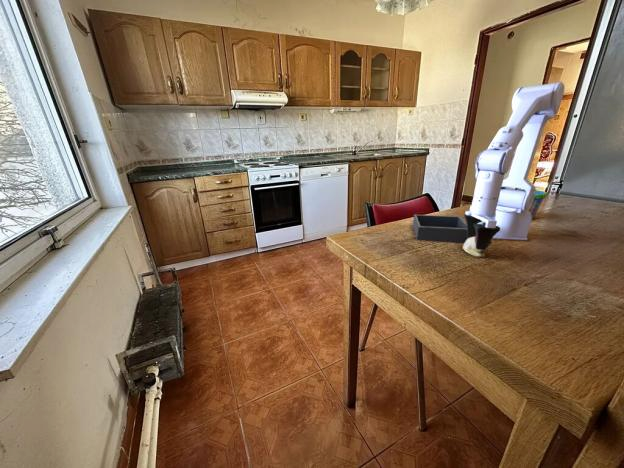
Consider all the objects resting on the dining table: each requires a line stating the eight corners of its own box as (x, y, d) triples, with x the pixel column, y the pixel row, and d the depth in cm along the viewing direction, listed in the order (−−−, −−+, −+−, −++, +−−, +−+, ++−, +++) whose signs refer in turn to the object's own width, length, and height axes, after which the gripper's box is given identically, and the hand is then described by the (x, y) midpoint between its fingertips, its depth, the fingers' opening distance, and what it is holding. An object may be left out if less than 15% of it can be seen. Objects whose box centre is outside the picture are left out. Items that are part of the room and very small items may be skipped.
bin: (458, 228, 93) (460, 216, 91) (469, 243, 81) (472, 229, 79) (412, 226, 97) (414, 214, 95) (416, 239, 85) (418, 226, 83)
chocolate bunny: (465, 255, 72) (474, 222, 68) (461, 245, 79) (469, 214, 75) (488, 259, 70) (498, 225, 67) (481, 248, 77) (491, 217, 73)
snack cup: (509, 210, 111) (515, 186, 107) (541, 214, 104) (549, 189, 100) (501, 218, 101) (507, 193, 97) (535, 224, 94) (543, 197, 90)
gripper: (462, 190, 76) (454, 233, 81) (478, 203, 63) (467, 253, 68) (489, 191, 74) (479, 235, 79) (511, 204, 61) (498, 255, 66)
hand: (475, 243), depth 73 cm, fingers closed on chocolate bunny, 7 cm apart
